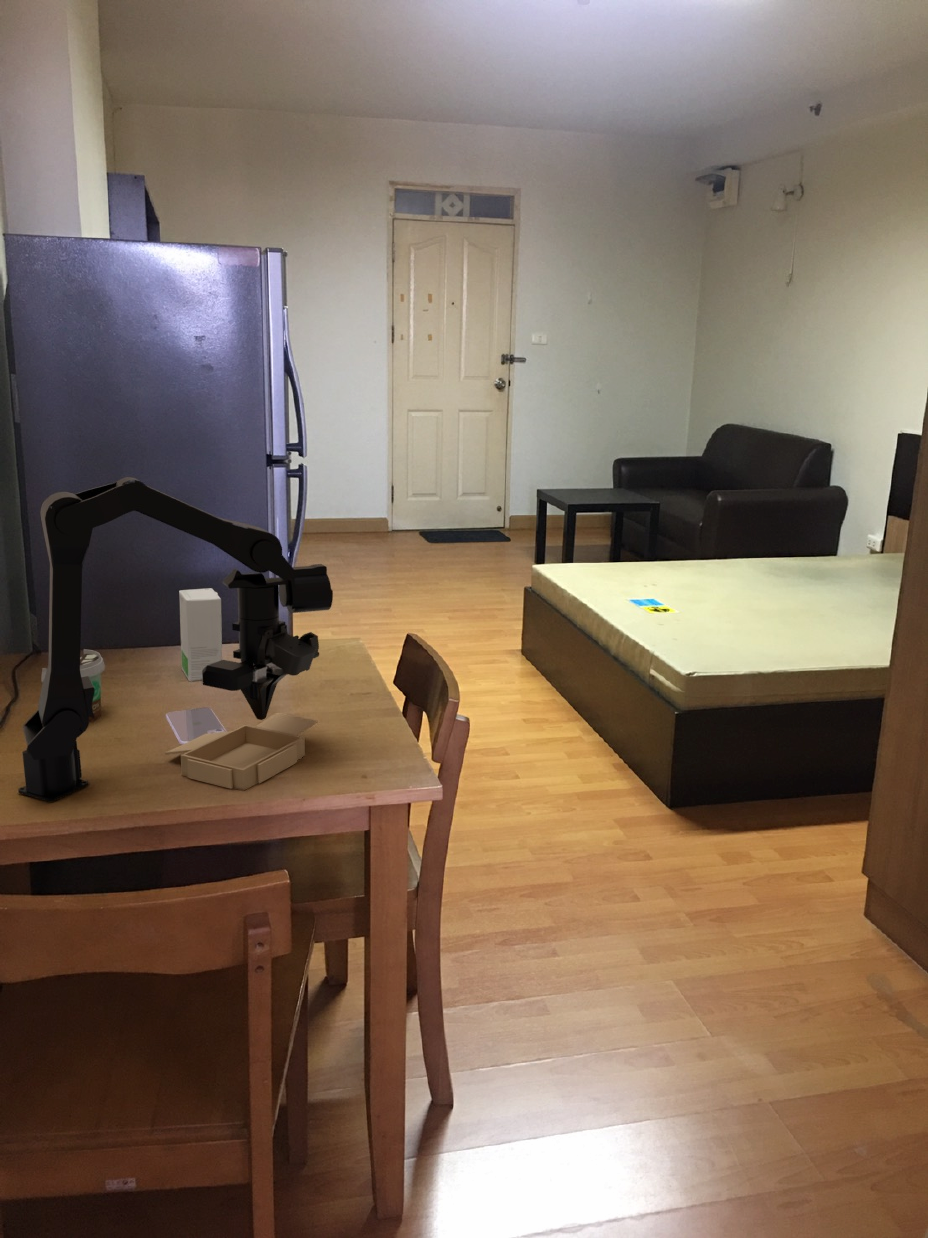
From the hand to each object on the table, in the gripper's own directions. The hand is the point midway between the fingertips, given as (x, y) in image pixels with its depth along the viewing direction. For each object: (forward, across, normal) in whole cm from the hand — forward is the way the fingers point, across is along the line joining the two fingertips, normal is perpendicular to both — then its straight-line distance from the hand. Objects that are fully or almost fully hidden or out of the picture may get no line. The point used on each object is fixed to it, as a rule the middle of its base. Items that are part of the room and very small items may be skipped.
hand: (261, 718), depth 142 cm
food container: (+6, -1, +35) cm, 35 cm away
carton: (+6, -4, 0) cm, 7 cm away
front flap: (+3, +3, 0) cm, 4 cm away
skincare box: (+6, +27, +35) cm, 44 cm away
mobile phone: (+6, +5, +17) cm, 19 cm away
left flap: (+3, -4, +5) cm, 7 cm away
